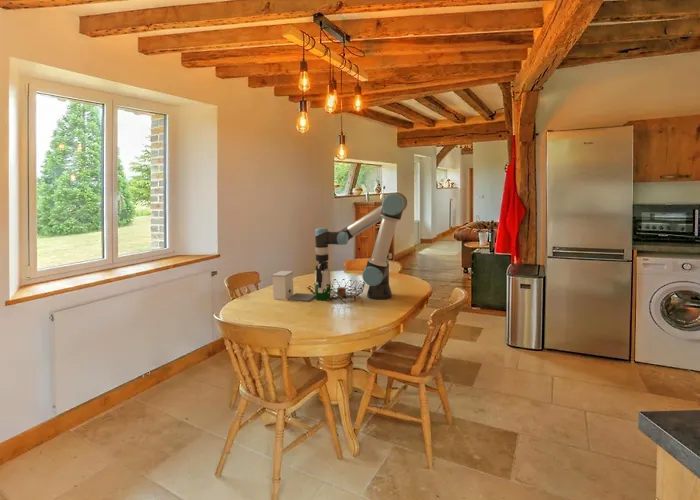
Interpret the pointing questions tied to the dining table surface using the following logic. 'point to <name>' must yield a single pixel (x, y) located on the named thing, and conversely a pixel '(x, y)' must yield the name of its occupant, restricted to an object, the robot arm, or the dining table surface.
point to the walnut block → (341, 291)
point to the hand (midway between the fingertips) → (323, 290)
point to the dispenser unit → (282, 285)
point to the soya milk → (326, 285)
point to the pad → (302, 297)
